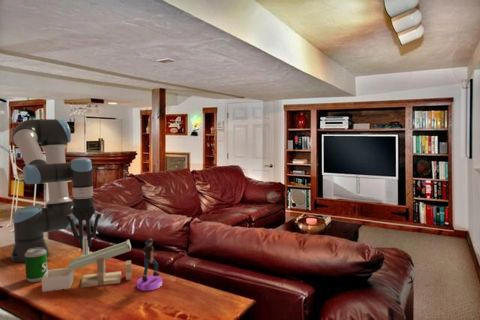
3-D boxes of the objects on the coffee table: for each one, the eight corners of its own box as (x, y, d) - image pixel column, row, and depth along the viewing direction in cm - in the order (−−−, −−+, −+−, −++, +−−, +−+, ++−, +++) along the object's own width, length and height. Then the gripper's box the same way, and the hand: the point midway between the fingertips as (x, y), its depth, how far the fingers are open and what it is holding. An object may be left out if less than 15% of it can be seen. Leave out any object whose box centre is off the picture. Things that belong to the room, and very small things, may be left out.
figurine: (167, 282, 138) (166, 236, 136) (151, 292, 129) (150, 243, 128) (148, 278, 142) (146, 233, 140) (131, 287, 133) (130, 240, 132)
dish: (47, 282, 138) (47, 270, 137) (73, 279, 140) (73, 267, 140) (42, 291, 130) (41, 278, 130) (69, 288, 132) (69, 275, 132)
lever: (75, 258, 147) (73, 251, 146) (131, 239, 152) (129, 233, 152) (69, 271, 133) (66, 264, 132) (130, 250, 138) (128, 244, 138)
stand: (84, 278, 141) (83, 251, 140) (131, 273, 146) (130, 247, 145) (80, 287, 133) (79, 259, 132) (131, 281, 138) (130, 254, 137)
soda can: (38, 284, 137) (36, 253, 136) (21, 282, 138) (19, 252, 137) (52, 276, 144) (50, 247, 143) (36, 274, 146) (34, 246, 145)
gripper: (62, 200, 137) (66, 259, 139) (99, 197, 141) (102, 255, 142) (66, 196, 144) (69, 253, 146) (101, 194, 148) (104, 249, 150)
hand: (86, 254), depth 144 cm, fingers closed
